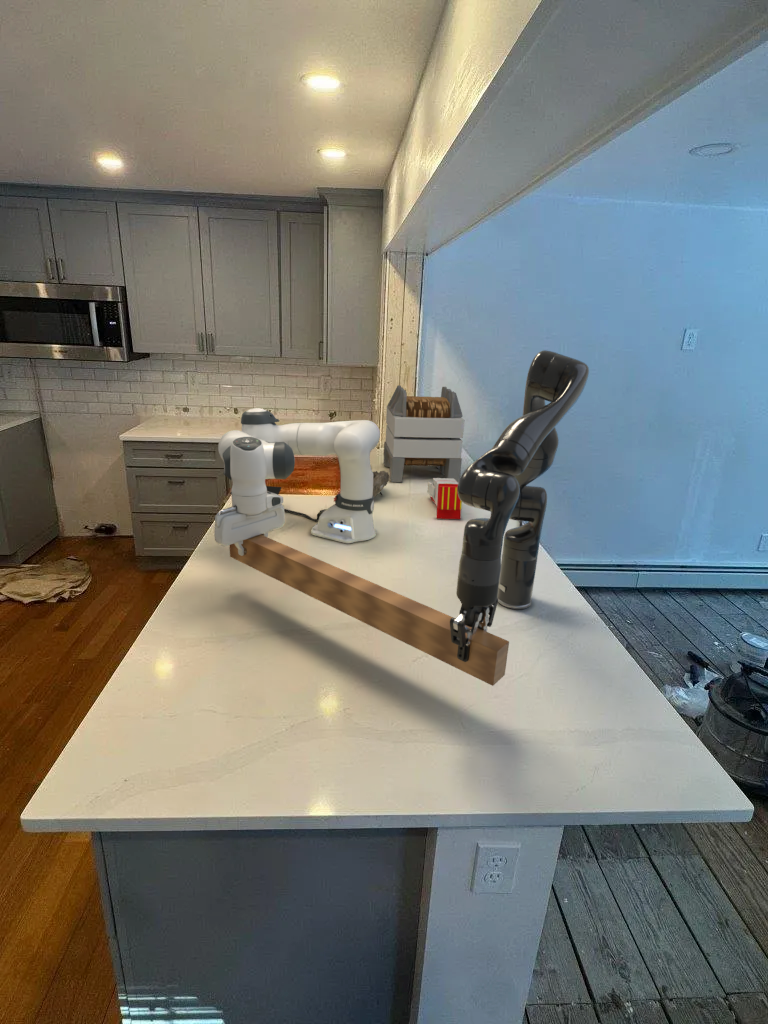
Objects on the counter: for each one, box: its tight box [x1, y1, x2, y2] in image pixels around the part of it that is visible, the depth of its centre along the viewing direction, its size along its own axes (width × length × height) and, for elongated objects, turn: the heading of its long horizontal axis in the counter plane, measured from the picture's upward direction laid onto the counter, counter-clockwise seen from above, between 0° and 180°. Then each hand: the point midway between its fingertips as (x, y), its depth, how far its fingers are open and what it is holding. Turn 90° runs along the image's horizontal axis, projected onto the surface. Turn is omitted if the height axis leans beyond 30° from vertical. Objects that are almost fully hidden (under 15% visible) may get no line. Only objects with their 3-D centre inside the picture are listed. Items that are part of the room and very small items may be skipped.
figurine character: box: [266, 485, 282, 495], centre depth 216 cm, size 7×8×15 cm
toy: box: [427, 477, 463, 520], centre depth 227 cm, size 12×13×30 cm
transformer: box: [383, 384, 465, 483], centre depth 268 cm, size 34×33×41 cm
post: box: [228, 535, 510, 687], centre depth 129 cm, size 81×4×8 cm, turn 50°
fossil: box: [372, 470, 390, 498], centre depth 238 cm, size 22×10×15 cm
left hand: (251, 551), depth 150 cm, fingers closed on post, 4 cm apart
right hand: (470, 653), depth 110 cm, fingers closed on post, 4 cm apart
